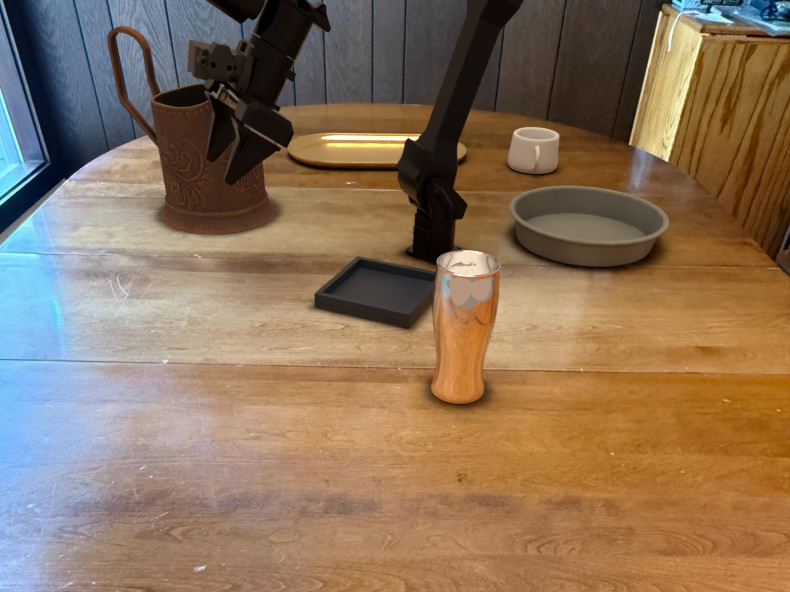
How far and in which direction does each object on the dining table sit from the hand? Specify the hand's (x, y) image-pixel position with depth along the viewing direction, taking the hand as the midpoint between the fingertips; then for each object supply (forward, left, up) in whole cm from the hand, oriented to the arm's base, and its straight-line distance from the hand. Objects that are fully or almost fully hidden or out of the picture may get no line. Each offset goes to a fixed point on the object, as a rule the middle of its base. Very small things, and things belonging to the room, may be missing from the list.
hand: (217, 171), depth 98 cm
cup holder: (-17, -24, -15) cm, 33 cm away
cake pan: (-48, +30, -15) cm, 58 cm away
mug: (-73, +6, -15) cm, 74 cm away
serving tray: (-11, +18, -15) cm, 26 cm away
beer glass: (+2, +40, -15) cm, 43 cm away
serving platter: (-59, -21, -15) cm, 64 cm away
